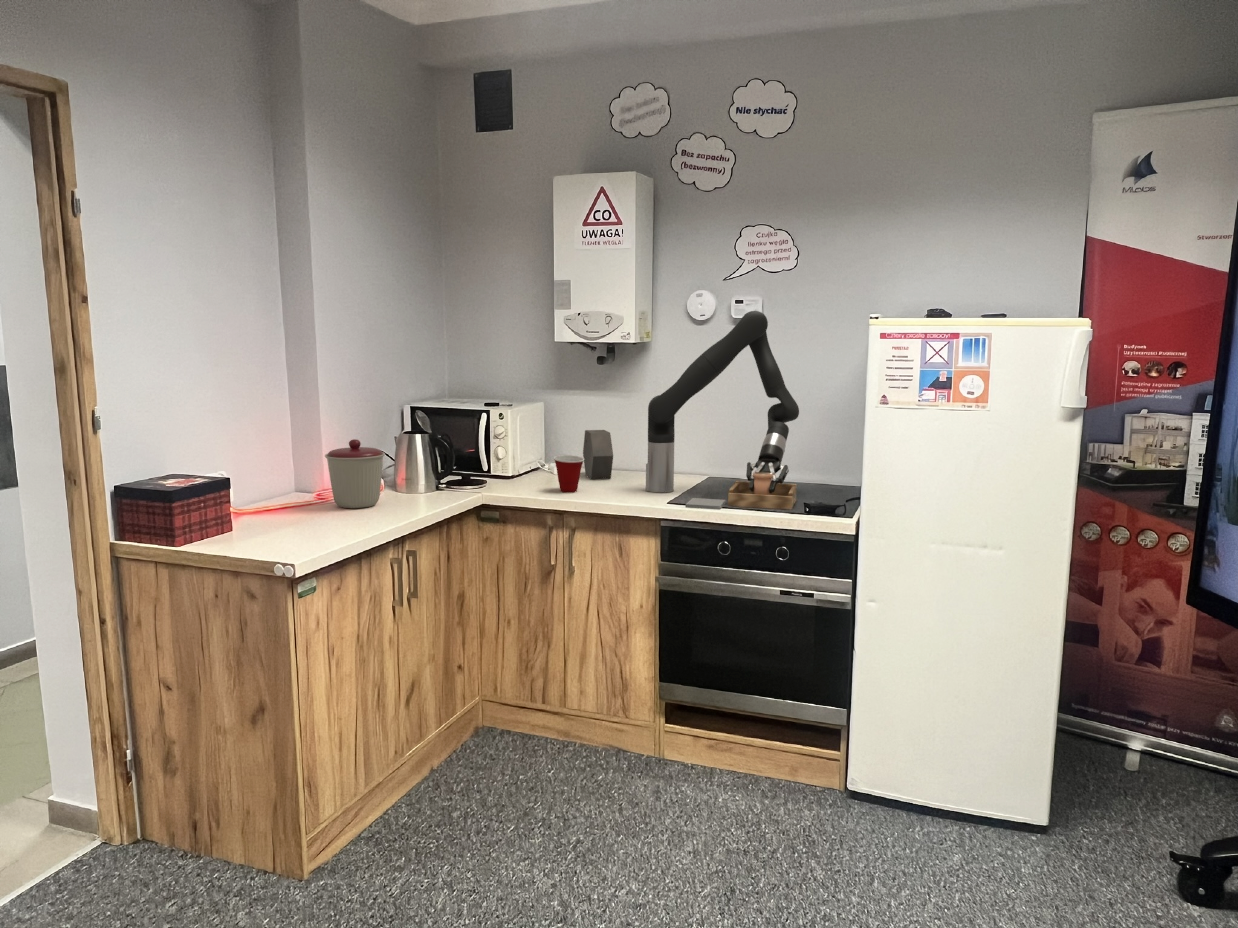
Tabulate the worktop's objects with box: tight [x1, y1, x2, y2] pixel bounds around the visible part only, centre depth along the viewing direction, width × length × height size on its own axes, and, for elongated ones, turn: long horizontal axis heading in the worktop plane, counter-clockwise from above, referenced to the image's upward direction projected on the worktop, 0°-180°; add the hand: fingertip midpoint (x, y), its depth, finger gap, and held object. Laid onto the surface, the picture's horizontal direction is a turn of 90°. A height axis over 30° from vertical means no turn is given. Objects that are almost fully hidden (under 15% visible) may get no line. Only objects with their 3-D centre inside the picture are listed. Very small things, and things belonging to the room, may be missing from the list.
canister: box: [324, 438, 386, 509], centre depth 274 cm, size 18×18×21 cm
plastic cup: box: [553, 454, 585, 493], centre depth 302 cm, size 11×11×12 cm
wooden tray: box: [727, 480, 797, 510], centre depth 283 cm, size 20×16×6 cm
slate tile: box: [685, 497, 727, 510], centre depth 280 cm, size 11×11×1 cm
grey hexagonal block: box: [582, 429, 614, 480], centre depth 333 cm, size 17×8×21 cm
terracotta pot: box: [752, 471, 773, 495], centre depth 282 cm, size 6×6×10 cm
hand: (761, 490), depth 281 cm, fingers closed on terracotta pot, 5 cm apart
